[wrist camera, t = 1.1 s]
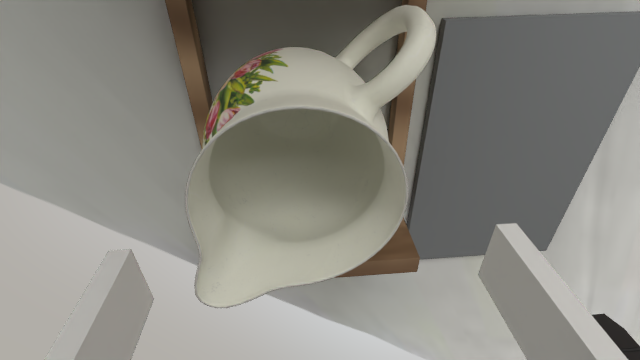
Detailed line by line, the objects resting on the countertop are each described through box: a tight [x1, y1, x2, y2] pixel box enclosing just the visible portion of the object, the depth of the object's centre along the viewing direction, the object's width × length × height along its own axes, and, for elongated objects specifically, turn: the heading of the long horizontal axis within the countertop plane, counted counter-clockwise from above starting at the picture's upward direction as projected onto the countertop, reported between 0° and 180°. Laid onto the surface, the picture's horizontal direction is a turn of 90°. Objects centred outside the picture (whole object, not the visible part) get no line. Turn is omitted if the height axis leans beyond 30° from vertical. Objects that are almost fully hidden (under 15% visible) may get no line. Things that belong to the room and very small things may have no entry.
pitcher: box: [185, 5, 436, 308], centre depth 21 cm, size 11×18×14 cm, turn 139°
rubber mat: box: [407, 12, 640, 259], centre depth 31 cm, size 24×16×1 cm, turn 1°
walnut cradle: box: [165, 0, 427, 278], centre depth 23 cm, size 24×16×8 cm
